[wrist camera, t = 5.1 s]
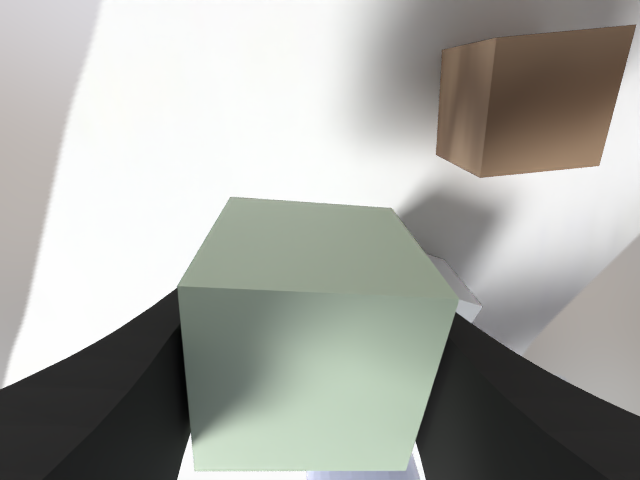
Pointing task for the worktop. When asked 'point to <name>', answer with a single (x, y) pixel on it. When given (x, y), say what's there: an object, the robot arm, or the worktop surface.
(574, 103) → the walnut cube
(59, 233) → the worktop surface
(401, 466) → the sage cube
